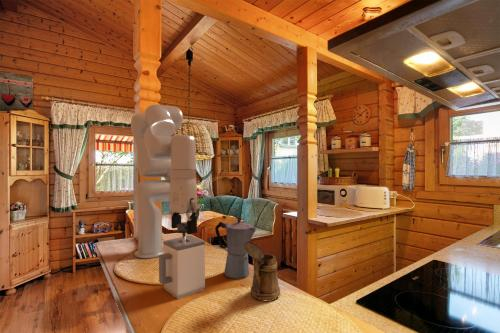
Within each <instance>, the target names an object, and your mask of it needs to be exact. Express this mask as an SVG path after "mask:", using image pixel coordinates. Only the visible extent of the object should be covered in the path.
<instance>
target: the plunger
mask: <svg viewBox="0 0 500 333" xmlns="http://www.w3.org/2000/svg"><path fill="white" fill-rule="evenodd" d="M176 231H177V233H178V234H181V237H182V243H184V242H186V236H187V221H181V222H180V223H177V228H176Z"/></svg>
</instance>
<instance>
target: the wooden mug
mask: <svg viewBox="0 0 500 333" xmlns="http://www.w3.org/2000/svg"><path fill="white" fill-rule="evenodd" d="M244 248H245V251H246V252H247V253H248V256H250V257H252V259H253V261H254V262H253V276H252V283H251V284H252V285H251V287H250V293H249V294H250V297H252V298H253V297H254V298H253V299H255V298H256V299H255V300H257V299H260V300H272V299H275V298H277V297H278V296H279V295H281V287H280V285H279V284H280V283H279V277H278V276H279V275H278V262H277V258H276V256H275V255H273V254H269V253H264V251H263V249H262V248H261V246H259V245H257V244H256V243H254V242H252V241H251V240H250V241H248V242H246V243H245V244H244ZM279 297H280V296H279ZM277 299H278V298H277ZM260 300H259V301H260ZM275 300H276V299H275Z"/></svg>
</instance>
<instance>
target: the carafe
mask: <svg viewBox="0 0 500 333" xmlns="http://www.w3.org/2000/svg"><path fill="white" fill-rule="evenodd" d="M205 243H206V241H205V240H202V239H199V238H197V237H194V236H192V235H186V242H184V243H182V236H181V237H177V238H171V239H167V240H162V247H163V254H162V255H159V256H158V282H159V284H161V285H163V289H164V290H165V291H166V292H168V293H169V294H171V295H172V296H173V297H174V298H176V300H180V299H182V298H186V297H188V296H191V295H194V294H196V293H199V292H202V291H205V290H206V255H205V254H206V250H205V248H206V246H205V245H206V244H205Z"/></svg>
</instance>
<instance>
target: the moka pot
mask: <svg viewBox="0 0 500 333" xmlns="http://www.w3.org/2000/svg"><path fill="white" fill-rule="evenodd" d="M236 219H237V221H235V222H230V223H228V222H223V221H219V222H218V224H217V225H215V227H214V229H215V234H216V238H217V241H218V245H219V246H218V247H219V248H221V249H223V250H224V249H227V255H226V260H225V265H224V272H223V274H224V275H225V277H228V278H230V279H233V280H234V279H235V280H236V279H237V280H240V279H241V280H242V279H245V278H247V277H248V276H249V275H250V268H249V254H248V253H247V252H246V251H245V248H244V244H245V243H246V242H248V241H250V242H251V240H252V239H253V236H254V235H255V232H256V231H257V230H258V229H257V227H256V226H254V225H252V224H250V223H246V222H242V218H241V217H237V218H236ZM219 228H222V229H225V231H226V241H227V245H223V243H222V238H221V235H220V230H219Z"/></svg>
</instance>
